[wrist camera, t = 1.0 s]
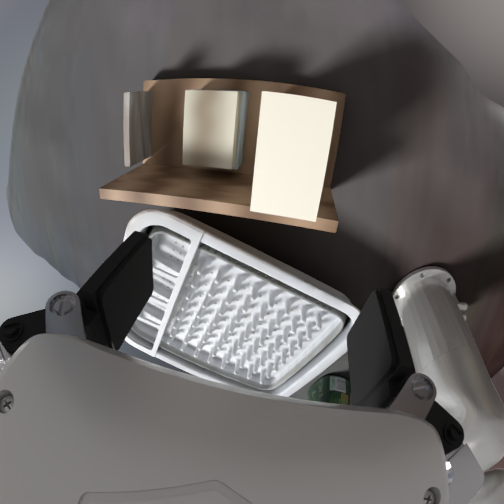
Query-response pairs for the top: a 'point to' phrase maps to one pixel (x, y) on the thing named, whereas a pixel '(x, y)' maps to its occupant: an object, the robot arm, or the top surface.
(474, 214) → the top surface
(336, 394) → the coffee jar
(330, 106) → the boxed book
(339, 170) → the top surface
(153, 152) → the shelf
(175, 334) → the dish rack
